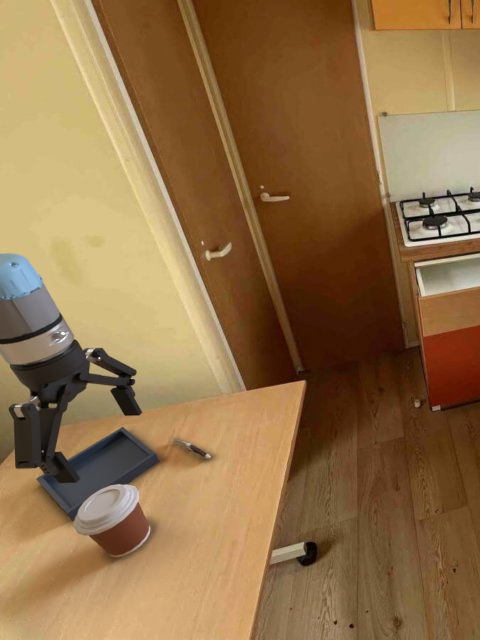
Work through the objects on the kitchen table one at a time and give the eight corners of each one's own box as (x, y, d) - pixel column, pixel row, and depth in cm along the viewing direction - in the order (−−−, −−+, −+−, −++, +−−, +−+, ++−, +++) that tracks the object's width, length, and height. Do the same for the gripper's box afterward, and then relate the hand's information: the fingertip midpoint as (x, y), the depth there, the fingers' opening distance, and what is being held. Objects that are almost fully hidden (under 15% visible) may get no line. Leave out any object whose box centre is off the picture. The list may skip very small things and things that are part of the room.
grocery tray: (42, 486, 92) (35, 478, 91) (127, 433, 104) (122, 426, 103) (73, 521, 85) (67, 513, 84) (160, 461, 97) (155, 453, 96)
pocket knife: (212, 458, 98) (210, 452, 97) (209, 461, 97) (206, 455, 97) (175, 438, 103) (172, 433, 102) (171, 441, 102) (168, 436, 101)
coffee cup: (117, 573, 77) (87, 535, 71) (87, 553, 80) (56, 515, 74) (169, 526, 84) (145, 488, 79) (140, 509, 87) (115, 471, 82)
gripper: (-20, 414, 53) (62, 515, 63) (130, 304, 76) (173, 391, 85) (-82, 416, 53) (10, 517, 63) (87, 305, 75) (135, 392, 85)
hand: (104, 444), depth 74 cm, fingers open, 13 cm apart
